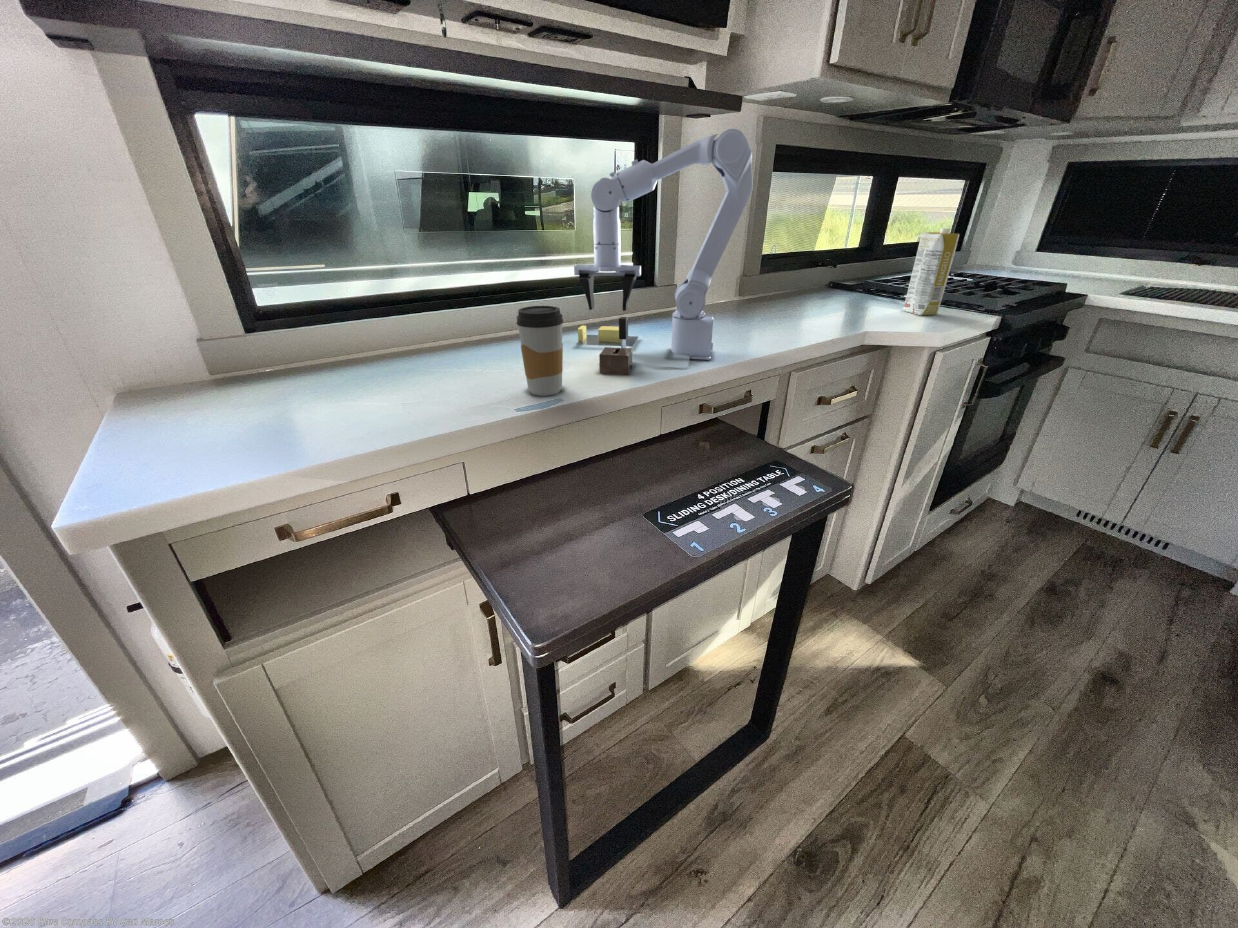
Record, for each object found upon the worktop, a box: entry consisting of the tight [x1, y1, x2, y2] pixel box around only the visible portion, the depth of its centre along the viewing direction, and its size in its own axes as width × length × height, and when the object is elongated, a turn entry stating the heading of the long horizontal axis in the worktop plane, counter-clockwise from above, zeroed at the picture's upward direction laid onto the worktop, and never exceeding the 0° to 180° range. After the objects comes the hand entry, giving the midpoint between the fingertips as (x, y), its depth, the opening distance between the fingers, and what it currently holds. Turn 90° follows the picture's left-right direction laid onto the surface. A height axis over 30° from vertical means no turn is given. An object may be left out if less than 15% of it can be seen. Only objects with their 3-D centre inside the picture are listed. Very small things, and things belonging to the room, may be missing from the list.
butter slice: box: [577, 325, 587, 342], centre depth 127 cm, size 1×4×3 cm, turn 170°
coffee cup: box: [516, 305, 564, 397], centre depth 93 cm, size 8×8×15 cm
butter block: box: [597, 325, 622, 343], centre depth 125 cm, size 6×4×3 cm, turn 80°
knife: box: [618, 316, 629, 348], centre depth 113 cm, size 2×3×9 cm, turn 164°
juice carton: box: [902, 227, 960, 316], centre depth 153 cm, size 9×8×24 cm
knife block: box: [598, 346, 634, 376], centre depth 107 cm, size 6×6×4 cm
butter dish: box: [576, 334, 639, 348], centre depth 127 cm, size 14×10×1 cm
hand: (608, 309), depth 114 cm, fingers open, 7 cm apart
